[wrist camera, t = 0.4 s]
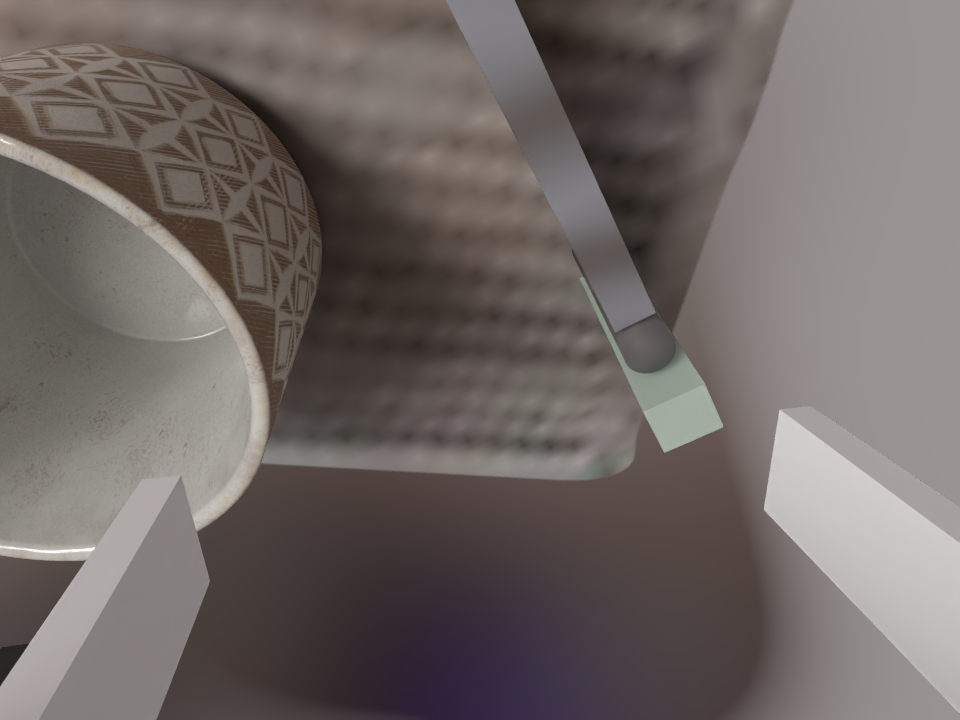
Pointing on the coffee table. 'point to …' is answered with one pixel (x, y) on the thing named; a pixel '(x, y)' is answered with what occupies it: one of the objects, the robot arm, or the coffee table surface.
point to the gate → (564, 176)
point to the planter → (138, 290)
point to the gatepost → (669, 394)
